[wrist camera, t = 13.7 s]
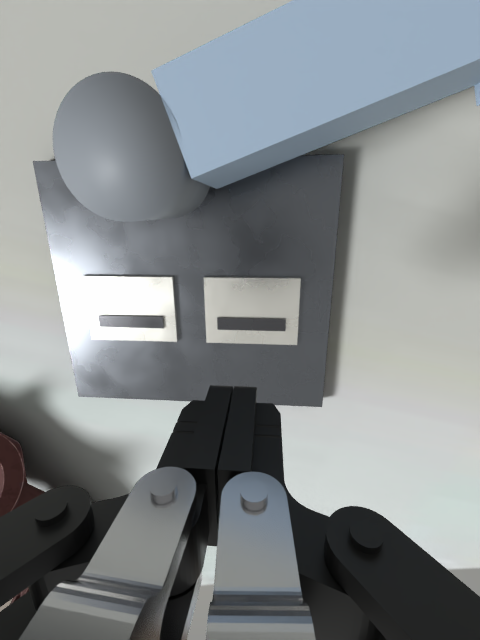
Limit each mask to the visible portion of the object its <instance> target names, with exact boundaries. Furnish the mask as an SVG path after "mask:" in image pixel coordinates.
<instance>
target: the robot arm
mask: <svg viewBox="0 0 480 640" xmlns="http://www.w3.org/2000/svg"><path fill="white" fill-rule="evenodd" d="M207 546H217V555H216V568H215V580H214V592H213V600H212V602H210V607H209V613H208V622H207V633H206V640H480V597H479V596H478V595H477V594H476V593H475V592H473V591H472V590H471V589H470V588H469V587H467V586H466V585H465V584H464V583H463V582H461V581H460V580H459V579H458V578H456V577H455V576H454V575H453V574H452V573H451V572H449V571H448V570H447V569H446V568H445V567H443V566H442V565H441V564H440V563H439V562H437V561H436V560H435V559H434V558H433V557H431V556H430V555H429V554H428V553H427V552H425V551H424V550H423V549H422V548H421V547H419V546H418V545H417V544H416V543H415V542H413V541H412V540H411V539H410V538H409V537H407V536H406V535H405V534H404V533H403V532H402V531H400V530H399V529H398V528H397V527H396V526H394V525H393V524H392V523H391V522H390V521H388V520H387V519H386V518H384V517H383V516H382V515H380V514H378V513H376V512H374V511H372V510H370V509H367V508H363V507H358V506H349V507H344V508H340V509H338V510H337V511H335V512H334V513H333V514H332V515H331V516H330V517H328V516H326V515H323V514H320V513H317V512H315V511H312V510H310V509H308V508H306V507H304V506H302V505H301V504H300V503H298V502H297V501H296V500H295V499H294V498H293V497H292V496H291V495H290V493H289V492H288V490H287V488H286V486H285V482H284V471H283V453H282V434H281V416H280V412H279V411H278V410H277V408H276V407H275V405H274V404H273V403H257V387H248V386H234V389H233V386H220V385H210V387H209V390H208V393H207V396H206V399H205V401H203V400H193V401H191V402H190V403H189V404H188V405H187V406H186V407H184V408H183V409H182V411H181V414H180V416H179V418H178V420H177V423H176V425H175V427H174V430H173V433H172V434H171V436H170V439H169V441H168V443H167V446H166V448H165V450H164V452H163V455H162V457H161V459H160V462H159V464H158V466H157V468H156V469H155V470H153V471H151V472H149V473H147V474H146V475H144V476H143V477H142V478H141V479H140V480H139V481H138V482H137V483H136V484H135V486H134V487H133V489H132V491H131V492H130V494H127V495H125V496H121V497H117V498H113V499H108V500H103V501H99V502H94V503H91V500H90V496H89V494H88V492H87V491H86V490H84V489H83V488H80V487H77V486H63V487H58V488H55V489H52V490H49V491H47V492H45V493H43V494H41V495H39V496H37V497H35V498H34V499H32V500H30V501H28V502H26V503H25V504H23V505H21V506H19V507H17V508H16V509H14V510H12V511H10V512H8V513H7V514H5V515H3V516H1V517H0V607H1V606H2V605H4V604H5V603H6V602H8V601H9V600H11V599H12V598H13V597H15V596H16V595H18V594H19V593H20V592H22V591H23V590H25V589H26V588H27V587H28V589H29V591H28V592H27V593H26V594H24V595H23V596H21V597H20V598H19V599H17V600H16V601H14V602H13V603H12V604H10V605H9V606H8V607H6V608H5V609H3V610H2V611H1V612H0V640H187V637H188V633H189V629H190V625H191V621H192V617H193V614H194V609H195V605H196V601H197V597H198V594H199V590H200V586H201V581H202V568H203V564H204V558H205V553H206V548H207Z"/></svg>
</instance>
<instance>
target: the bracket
mask: <svg viewBox="0 0 480 640" xmlns="http://www.w3.org/2000/svg"><path fill="white" fill-rule="evenodd" d="M43 493H45V492H44V491H42V490H40V489H38V488H36V487H34V486H31V485H29V484H28V483H27V478H26V472H25V465H24V459H23V452H22V447H21V445H20V444H19V443H18V442H17V441H16V440H14V439H12V438H10V437H8V436H6V435H4V434H2V433H1V432H0V517H1V516H3V515H5V514H7V513H8V512H10V511H12V510H14V509H16V508H17V507H19V506H21V505H23V504H25V503H26V502H28V501H30V500H32V499H34V498H35V497H37V496H39V495H41V494H43ZM28 591H29V589H28V587H27V588H26V589H25V590H23V591H22V592H20V593H19V594H18V595H16V596H15V597H13V599H12V601H11V603H10V604H12V603H13V602H14V601H16V600H17V599H19V598H20V597H21V596H23V595H24V594H26V593H27V592H28Z"/></svg>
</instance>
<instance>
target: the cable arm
mask: <svg viewBox="0 0 480 640" xmlns="http://www.w3.org/2000/svg"><path fill="white" fill-rule="evenodd" d="M152 74H153V77H154V79H155V82H156V85H157V87H158V90H159V93H160V95H159V94H158V93H157V91H156V90H154V89H153V88H152V87H151V86H149V85H148V84H147V83H145V82H144V81H142V80H140V79H138V78H136V77H134V76H131V75H128V74H125V73H120V72H102V73H97V74H93V75H91V76H89V77H86V78H85V79H83V80H81V81H80V82H78V83H77V84H76V85H75V86H74V87H72V88H71V90H70V91H69V92H68V93H67V94H66V96H65V97H64V99H63V101H62V102H61V104H60V107H59V109H58V111H57V114H56V118H55V122H54V128H53V149H54V155H55V160H56V163H57V167H58V169H59V172H60V174H61V177H62V179H63V180H64V182H65V184H66V186H67V187H68V189H69V190H70V192H71V193H72V194H73V195H74V196H75V198H76V199H77V200H78V201H79V202H80V203H81V204H82V205H84V206H85V207H86V208H87V209H89V210H90V211H92V212H93V213H95V214H97V215H99V216H101V217H104V218H106V219H110V220H114V221H121V222H131V221H144V220H156V219H169V218H178V217H182V216H185V215H187V214H189V213H191V212H192V211H194V210H195V209H196V208H197V207H199V205H200V204H201V203H202V202H203V200H204V199H205V197H206V195H207V193H208V191H209V188H210V186H211V187H213V188H216V189H218V188H221V187H223V186H226V185H228V184H231V183H233V182H236V181H238V180H241V179H243V178H246V177H248V176H251V175H253V174H256V173H258V172H261V171H263V170H266V169H268V168H271V167H273V166H276V165H278V164H281V163H283V162H286V161H288V160H291V159H293V158H296V157H298V156H301V155H303V154H306V153H308V152H311V151H313V150H315V149H318V148H320V147H323V146H325V145H328V144H330V143H333V142H335V141H338V140H340V139H343V138H345V137H348V136H350V135H353V134H355V133H358V132H360V131H363V130H365V129H368V128H370V127H373V126H375V125H378V124H380V123H383V122H385V121H388V120H390V119H393V118H395V117H398V116H400V115H403V114H405V113H408V112H410V111H413V110H415V109H418V108H420V107H423V106H425V105H428V104H430V103H433V102H435V101H437V100H440V99H442V98H445V97H447V96H450V95H452V94H455V93H457V92H460V91H462V90H465V89H467V88H470V87H472V86H474V87H475V96H476V104H477V106H479V105H480V0H293V1H291V2H289V3H287V4H285V5H283V6H281V7H279V8H277V9H275V10H273V11H271V12H269V13H267V14H265V15H263V16H261V17H259V18H257V19H254V20H252V21H250V22H248V23H246V24H244V25H242V26H240V27H238V28H236V29H234V30H232V31H230V32H228V33H226V34H224V35H222V36H220V37H218V38H216V39H214V40H212V41H210V42H208V43H206V44H204V45H202V46H200V47H198V48H196V49H194V50H192V51H190V52H188V53H186V54H184V55H182V56H180V57H178V58H176V59H174V60H172V61H170V62H168V63H166V64H164V65H162V66H160V67H158V68H156V69H154V70H152Z"/></svg>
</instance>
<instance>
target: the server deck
mask: <svg viewBox="0 0 480 640" xmlns="http://www.w3.org/2000/svg"><path fill="white" fill-rule="evenodd" d="M343 161H344V154H341V155H301V156H298V157H296V158H293V159H291V160H288V161H286V162H283V163H281V164H278V165H276V166H273V167H271V168H268V169H266V170H263V171H261V172H258V173H256V174H253V175H251V176H248V177H246V178H243V179H241V180H238V181H236V182H233V183H231V184H228V185H226V186H223V187H221V188H218V189H216V188H213V187H211V186H210V188H209V191H208V193H207V195H206V197H205V199H204V200H203V202H202V203H201V204H200V205H199V207H197V208H196V209H195V210H194V211H192V212H191V213H189V214H187V215H185V216H182V217H178V218H169V219H156V220H144V221H131V222H121V221H114V220H110V219H106V218H104V217H101V216H99V215H97V214H95V213H93V212H92V211H90V210H89V209H87V208H86V207H85V206H84V205H82V204H81V203H80V202H79V201H78V200H77V199H76V198H75V196H74V195H73V194H72V193H71V192H70V190H69V189H68V187H67V186H66V184H65V182H64V180H63V179H62V177H61V174H60V172H59V169H58V167H57V163H56V161H33V165H34V170H35V175H36V180H37V185H38V191H39V196H40V201H41V206H42V211H43V216H44V221H45V227H46V232H47V237H48V242H49V247H50V252H51V257H52V263H53V268H54V273H55V278H56V283H57V288H58V293H59V299H60V304H61V309H62V314H63V319H64V324H65V329H66V334H67V340H68V345H69V350H70V355H71V360H72V365H73V370H74V376H75V381H76V386H77V391H78V396H81V397H104V398H127V399H150V400H174V401H193V400H203V401H205V399H206V396H207V393H208V390H209V387H210V385H220V386H233V389H234V386H248V387H257V403H273V404H274V405H290V406H313V407H322V401H323V390H324V378H325V367H326V356H327V344H328V333H329V321H330V310H331V298H332V287H333V276H334V264H335V253H336V241H337V230H338V219H339V207H340V196H341V184H342V173H343Z"/></svg>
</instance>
